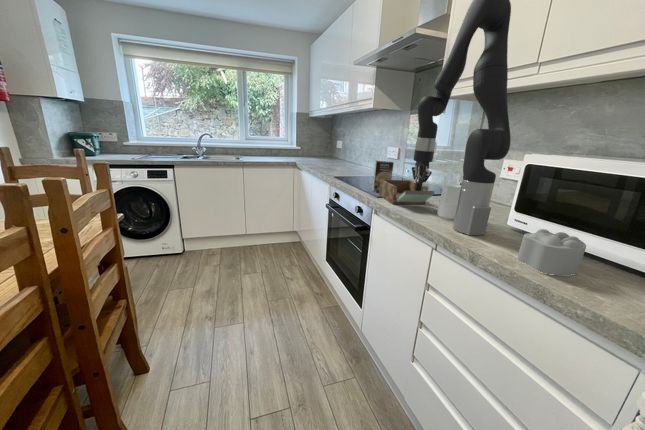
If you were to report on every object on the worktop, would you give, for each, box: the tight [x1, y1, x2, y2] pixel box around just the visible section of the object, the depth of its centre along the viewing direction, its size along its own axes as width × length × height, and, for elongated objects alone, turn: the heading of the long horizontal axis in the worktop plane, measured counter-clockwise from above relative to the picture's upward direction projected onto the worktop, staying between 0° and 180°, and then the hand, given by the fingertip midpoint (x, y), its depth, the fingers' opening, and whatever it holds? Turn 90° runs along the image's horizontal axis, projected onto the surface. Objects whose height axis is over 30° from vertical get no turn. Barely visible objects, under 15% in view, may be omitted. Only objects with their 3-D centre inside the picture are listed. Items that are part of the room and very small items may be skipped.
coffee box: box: [371, 160, 394, 193], centre depth 149 cm, size 9×6×16 cm
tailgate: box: [397, 190, 435, 202], centre depth 120 cm, size 1×13×9 cm
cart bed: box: [378, 179, 429, 205], centre depth 133 cm, size 18×16×8 cm
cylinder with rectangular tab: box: [436, 185, 461, 220], centre depth 109 cm, size 9×9×12 cm
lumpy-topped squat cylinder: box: [516, 228, 587, 275], centre depth 70 cm, size 10×13×9 cm
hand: (417, 191), depth 117 cm, fingers closed
